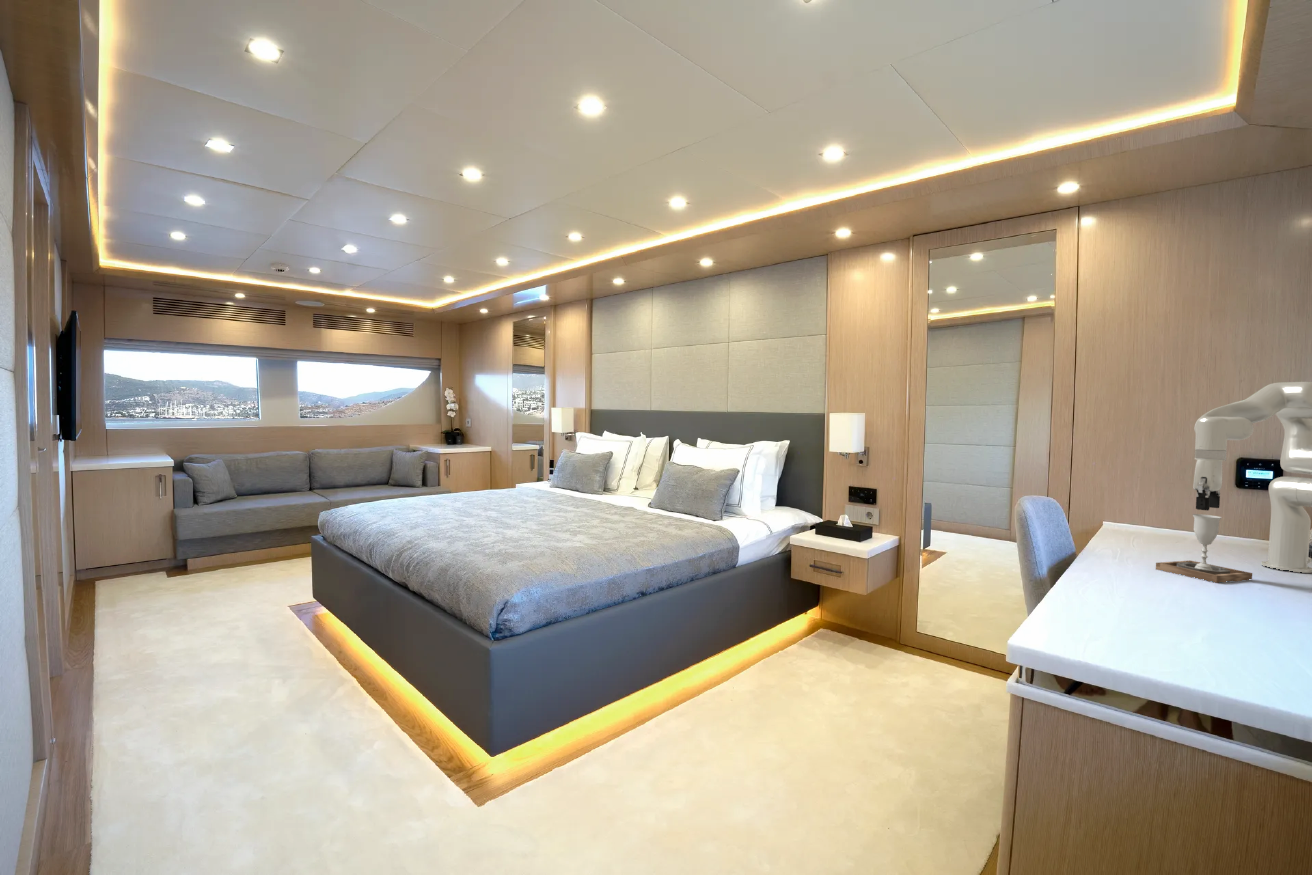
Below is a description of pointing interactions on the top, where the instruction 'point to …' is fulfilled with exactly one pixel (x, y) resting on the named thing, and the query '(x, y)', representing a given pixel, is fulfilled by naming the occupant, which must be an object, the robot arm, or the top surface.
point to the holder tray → (1202, 574)
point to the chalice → (1205, 534)
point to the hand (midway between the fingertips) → (1207, 508)
